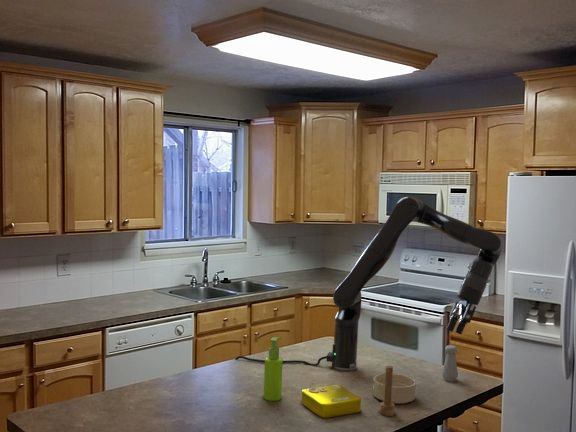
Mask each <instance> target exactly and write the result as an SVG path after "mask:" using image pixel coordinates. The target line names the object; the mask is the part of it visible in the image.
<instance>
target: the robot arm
mask: <svg viewBox="0 0 576 432" xmlns="http://www.w3.org/2000/svg"><path fill="white" fill-rule="evenodd" d="M411 223H418V224H422V225H424V226H428V227H430V228H433V229H435V230H437V231H439V232H440V233H442V234H443V235H445V236H447V237H449V238H451V239H453V240H455V241H457V242H459V243H462V244H463V245H467V246H473V247H475V248H478V249H479V252H478V254H477V255H476V258H474V259H473V260H472V262H471V264H470V266H469V268H468V271H467V273H466V275H465V276H464V278H463V280H462V283H461V284H460V288H459V290H458V291H457V294H456V297H457V298H458V299H460V300H459V302H458V301H455V302H454V304H453V306H452V309H451V311H450V313H449V314H448V317H449V321H448V324H447V326H446V330H447V331H449V332H451V333H453V332H455V333H456V334H458V335H462V334H463V333H464V329H465V328H466V325H468V324H470V323H471V321H472V319H473V316H474V314H475V312H476V309H477V306H479V304H480V302H481V299H482V298H483V295H484V293H485V291H486V287H487V284H488V281H489V278H490V276H491V275H492V272H493V269H494V267H495V265H496V264H497V262H498V260H499V258H500V257H501V254H502V252H503V248H504V247H503V241H502V238H501V237H500V236H499V235H498V234H497V233H495V232H492V231H490V230H487V229H483V228H480V227H476V226H474V225H473V224H472V225H471V224H470V223H467V222H465V221H462V220H460V219H457V218H455V217H452V216H450V215H447V214H445V213H442V212H440V211H438V210H436V209H434V208H433V207H431V206H429V205H428V204H427V203H425V202H424V201H422V200H421V199H420V198H418V197H414V196H404V197H402V198H400V199H399V200H398V201H397V202H396V204H395V206H394V207H393V209H392V211H391V213H390V214H389V216H388V218H387V220H386V221H385V223H384V224H383V225H382V227H381V228H380V230H378V231H377V233H376V235H375V236H374V237H373V238H372V239H371V241H370V242H369V243H368V245H367V247H366V248H365V249H364V251H363V252H362V254H361V256H360V257H359V258H358V260H357V261H356V263H355V265H354V266H353V268H352V269H351V271H350V273H349V274H348V275H347V276H346V277H345V279H344V280H343V281H342V282H341V283H340V284H339V285H338V286H337V287H336V289H335V290H334V291H333V295H332V300H333V304H334V305H335V306H336V307H337V308H338V310H337V312H336V315H335V317H334V331H333V332H334V333H333V335H334V336H333V344H332V350H331V351H332V352H330V351H329V352H327V355H325V356H322V357H320V358H319V359H318V360H317V362H316V363H311V362H308V361H305V360H283V362H282V364H305V365H308V366H313V367H318V366H319V365H320V363H321V361H322V360H325V361H326V362H327V363H331V369H333V370H337V371H340V372H352V371H356V370H357V367H358V366H357V362H358V337H359V321H360V318H361V313H362V312H361V311H362V290H363V289H364V287H365V286H366V285H367V283H368V282H370V281H371V279H372V278H374V277H375V276H376V275H377V274H378V273H379V272H380V271H381V270H382V269H383V268H384V266H385V265H386V264H387V263H388V261H389V260H390V258H391V257H392V255H393V254H394V252H395V249H396V247H397V243H398V241H399V239H400V236H401V235H402V234H403V232H404V231H405V230H406V229H407V228H408V226H409V225H410V224H411ZM454 329H455V330H454ZM240 359H243V360H246V361H249V362H256V363H264V364H265V359H259V358H258V359H257V358H250V357H247V356H244V355H239V356H236V357H235V358H234V360H235V361H238V360H240Z"/></svg>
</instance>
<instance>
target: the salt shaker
mask: <svg viewBox="0 0 576 432" xmlns="http://www.w3.org/2000/svg"><path fill="white" fill-rule="evenodd" d="M444 351H445V352H446V354H445V358H444V363H443V366H442V367H443V368H442V371H441V375H442V378H443V380H444V381H446V382H450V383H454V382H456V381H457V379H458V377H459V372H458V366H457V357H456V354H457V353H458V347H457V346H455V345H453V344H448V345H446V346H445V349H444Z"/></svg>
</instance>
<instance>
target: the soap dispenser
mask: <svg viewBox="0 0 576 432" xmlns="http://www.w3.org/2000/svg"><path fill="white" fill-rule="evenodd" d="M280 340H282V337H280V336H273V337H271V339H270V342H271V347H269V348H268V356H266V357H265V358H264V360H265V363H264V371H263V372H264V373H263V374H264V376H263V399H264V400H266V401H270V402H276V401H280V400H281V399H282V384H283V363H282V362H283V361H284V360H283V358H282V357H280V348H279V347H278V341H280Z"/></svg>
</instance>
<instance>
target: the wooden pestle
mask: <svg viewBox="0 0 576 432" xmlns="http://www.w3.org/2000/svg"><path fill="white" fill-rule="evenodd" d="M393 372H394V367H393V366H392V365H386V366H385V373H384V374H385V394H384V401H381V402H380V403H379V404H380V405H379V406H380V408H379V413H380V415H382V416H385V417H391V416H394V415H395V406H396V405H395V404H394V403H392V402H391V395H392V375H393V374H394V373H393Z"/></svg>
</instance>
